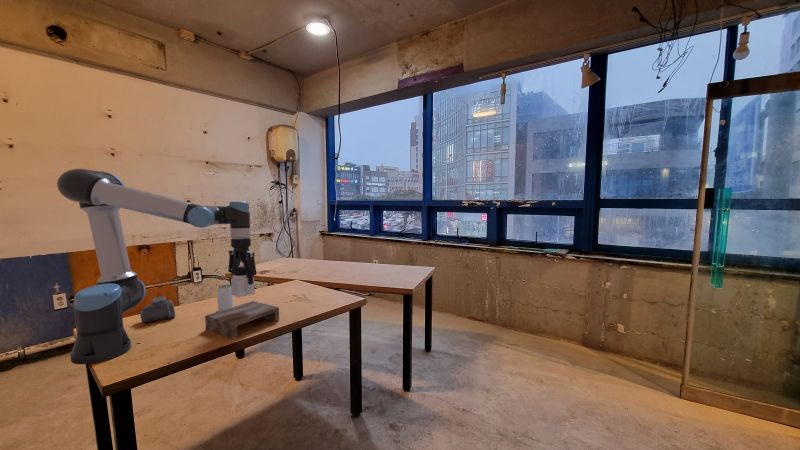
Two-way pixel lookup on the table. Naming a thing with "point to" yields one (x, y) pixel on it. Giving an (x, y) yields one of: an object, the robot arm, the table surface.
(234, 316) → the shelf stand
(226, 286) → the can
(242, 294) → the medicine bottle
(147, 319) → the pipe fitting
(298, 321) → the table surface
